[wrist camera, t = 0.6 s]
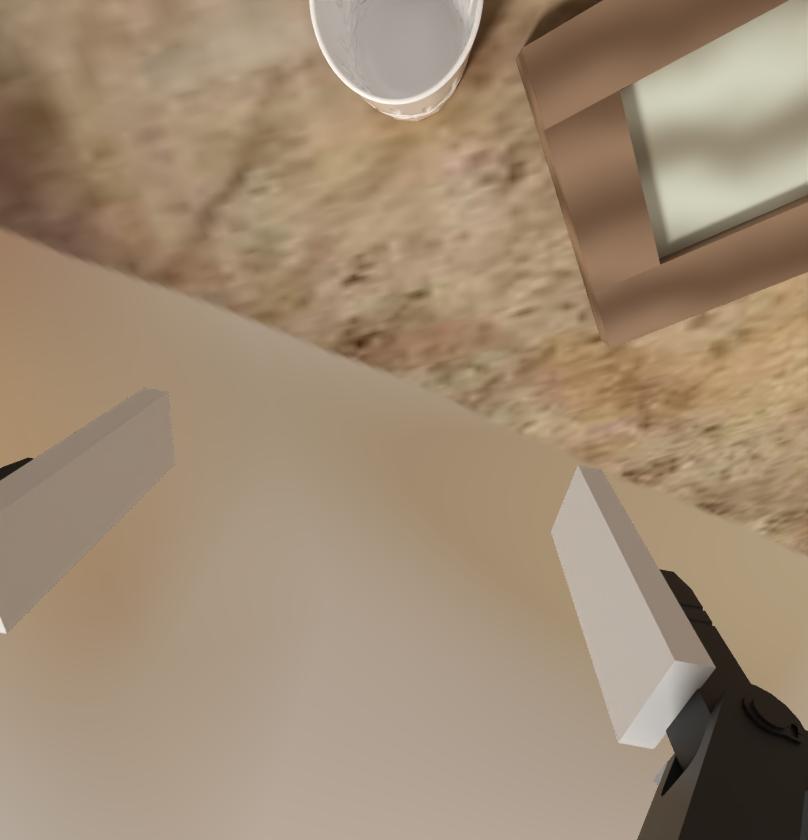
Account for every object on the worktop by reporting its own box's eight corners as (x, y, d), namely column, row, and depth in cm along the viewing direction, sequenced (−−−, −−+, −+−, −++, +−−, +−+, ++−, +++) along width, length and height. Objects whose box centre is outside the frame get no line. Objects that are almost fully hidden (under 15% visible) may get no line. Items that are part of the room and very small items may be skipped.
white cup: (497, 29, 28) (521, -51, 19) (430, 156, 31) (424, 138, 22) (387, -53, 27) (358, -180, 18) (330, 88, 30) (281, 41, 21)
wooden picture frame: (515, 59, 28) (521, 48, 26) (886, -158, 23) (930, -194, 21) (601, 339, 36) (610, 348, 34) (897, 221, 31) (931, 223, 28)
